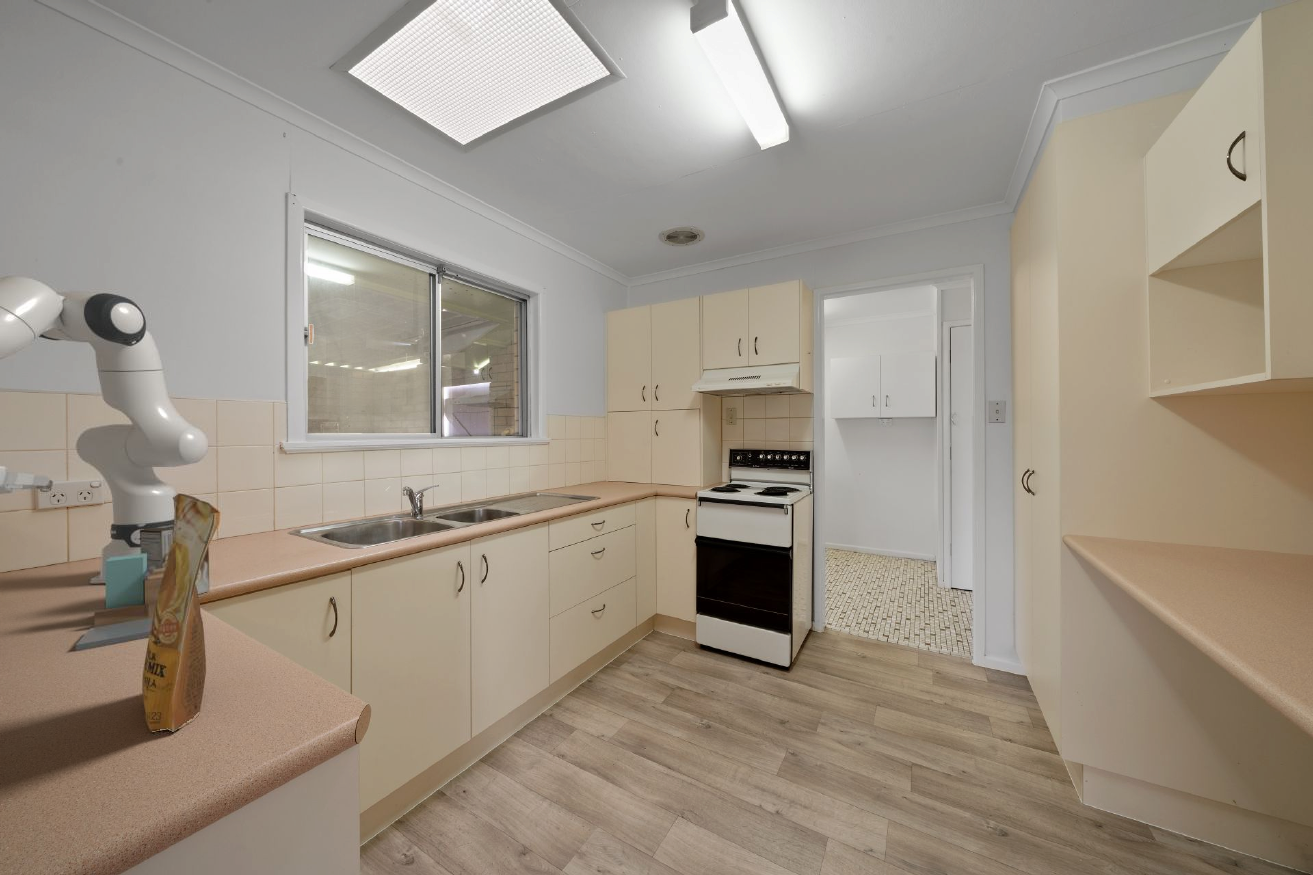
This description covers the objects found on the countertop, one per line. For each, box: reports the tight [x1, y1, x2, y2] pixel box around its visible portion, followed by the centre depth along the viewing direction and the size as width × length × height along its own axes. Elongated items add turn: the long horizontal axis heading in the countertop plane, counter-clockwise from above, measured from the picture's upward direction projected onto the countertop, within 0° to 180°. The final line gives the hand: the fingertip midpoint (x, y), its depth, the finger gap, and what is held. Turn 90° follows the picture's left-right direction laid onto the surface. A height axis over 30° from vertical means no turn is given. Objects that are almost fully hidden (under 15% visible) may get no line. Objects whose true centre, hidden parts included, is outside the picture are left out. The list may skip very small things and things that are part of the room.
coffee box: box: [140, 525, 211, 595], centre depth 107 cm, size 9×6×16 cm
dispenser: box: [93, 565, 165, 628], centre depth 97 cm, size 9×12×9 cm
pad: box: [75, 618, 153, 652], centre depth 87 cm, size 9×9×1 cm
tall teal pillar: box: [105, 553, 147, 610], centre depth 95 cm, size 4×5×12 cm
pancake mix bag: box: [141, 493, 221, 733], centre depth 64 cm, size 7×19×28 cm, turn 48°
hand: (50, 483), depth 89 cm, fingers open, 8 cm apart
